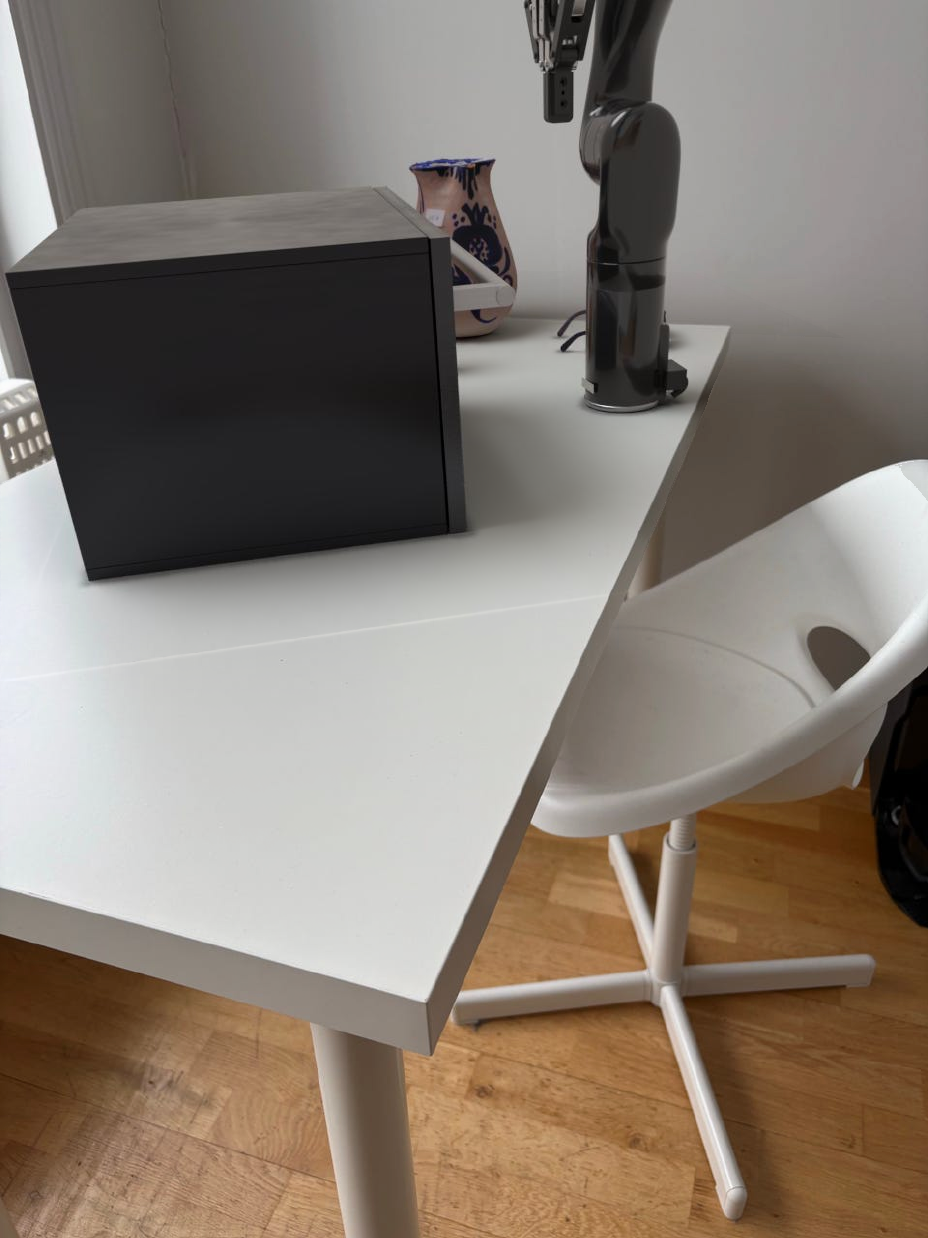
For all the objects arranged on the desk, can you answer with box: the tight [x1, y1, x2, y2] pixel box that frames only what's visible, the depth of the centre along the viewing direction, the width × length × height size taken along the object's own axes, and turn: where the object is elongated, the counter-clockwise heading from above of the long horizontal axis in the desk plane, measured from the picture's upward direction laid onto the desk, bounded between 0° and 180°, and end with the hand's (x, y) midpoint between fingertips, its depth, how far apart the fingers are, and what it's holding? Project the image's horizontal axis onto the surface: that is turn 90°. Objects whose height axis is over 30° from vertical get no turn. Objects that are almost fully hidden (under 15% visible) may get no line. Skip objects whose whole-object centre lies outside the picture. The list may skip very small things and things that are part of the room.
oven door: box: [372, 186, 517, 534], centre depth 101 cm, size 8×40×26 cm, turn 11°
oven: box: [4, 185, 448, 582], centre depth 99 cm, size 32×40×26 cm
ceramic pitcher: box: [408, 157, 518, 338], centre depth 152 cm, size 18×21×25 cm
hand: (558, 121), depth 83 cm, fingers closed
